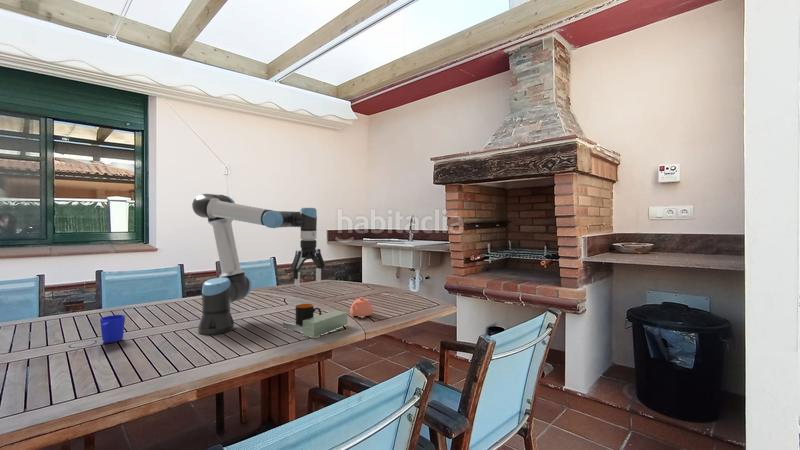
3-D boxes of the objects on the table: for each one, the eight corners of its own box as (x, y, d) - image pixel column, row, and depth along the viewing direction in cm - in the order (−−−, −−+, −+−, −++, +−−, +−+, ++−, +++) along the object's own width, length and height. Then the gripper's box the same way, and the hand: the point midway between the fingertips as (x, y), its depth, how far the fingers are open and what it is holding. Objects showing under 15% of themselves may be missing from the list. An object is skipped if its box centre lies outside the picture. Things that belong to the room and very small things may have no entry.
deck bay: (278, 329, 171) (278, 315, 170) (313, 318, 189) (313, 305, 189) (313, 339, 158) (314, 323, 158) (347, 326, 177) (347, 312, 177)
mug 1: (90, 348, 145) (90, 323, 145) (106, 338, 157) (106, 315, 156) (115, 346, 147) (114, 322, 147) (128, 336, 159) (128, 314, 159)
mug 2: (322, 328, 174) (322, 306, 174) (296, 330, 170) (296, 308, 169) (319, 323, 182) (319, 302, 182) (294, 325, 177) (294, 304, 177)
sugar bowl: (377, 315, 197) (377, 296, 197) (361, 321, 186) (361, 301, 185) (359, 312, 204) (359, 294, 204) (343, 317, 192) (343, 298, 192)
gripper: (293, 241, 163) (293, 288, 163) (332, 238, 184) (331, 280, 184) (282, 240, 167) (281, 286, 167) (321, 238, 188) (321, 279, 188)
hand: (308, 283), depth 176 cm, fingers open, 13 cm apart
